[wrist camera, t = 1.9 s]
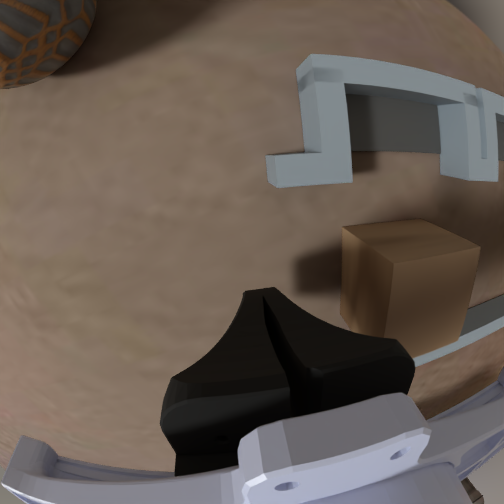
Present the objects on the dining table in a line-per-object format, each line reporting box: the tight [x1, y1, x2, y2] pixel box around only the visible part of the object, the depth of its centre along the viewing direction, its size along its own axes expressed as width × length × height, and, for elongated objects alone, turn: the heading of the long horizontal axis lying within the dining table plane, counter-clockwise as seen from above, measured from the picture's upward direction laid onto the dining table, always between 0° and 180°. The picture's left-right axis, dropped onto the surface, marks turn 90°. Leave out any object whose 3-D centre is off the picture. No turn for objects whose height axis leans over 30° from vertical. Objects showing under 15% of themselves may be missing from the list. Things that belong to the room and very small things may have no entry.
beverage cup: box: [461, 477, 484, 504], centre depth 24 cm, size 7×7×20 cm
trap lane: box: [265, 54, 504, 367], centre depth 13 cm, size 16×27×2 cm, turn 96°
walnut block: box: [340, 219, 481, 359], centre depth 12 cm, size 5×5×5 cm
